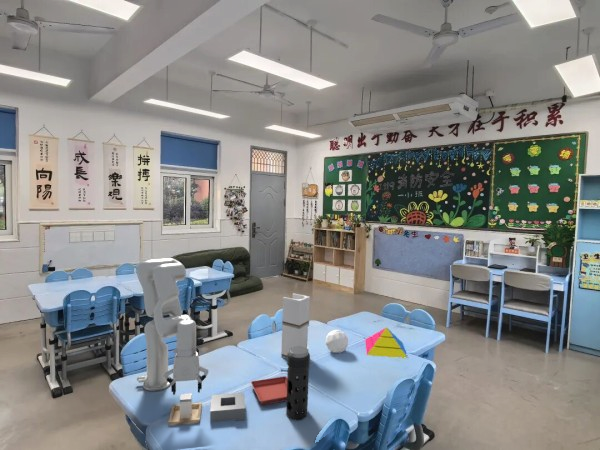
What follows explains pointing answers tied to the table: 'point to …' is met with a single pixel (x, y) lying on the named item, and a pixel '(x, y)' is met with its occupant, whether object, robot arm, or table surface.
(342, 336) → the geodesic sphere
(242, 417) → the block
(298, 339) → the white banded pillar
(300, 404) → the muzzle brake
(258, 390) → the plant saucer
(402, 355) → the pyramid toy
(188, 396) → the plug
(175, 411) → the tray
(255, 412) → the table surface
